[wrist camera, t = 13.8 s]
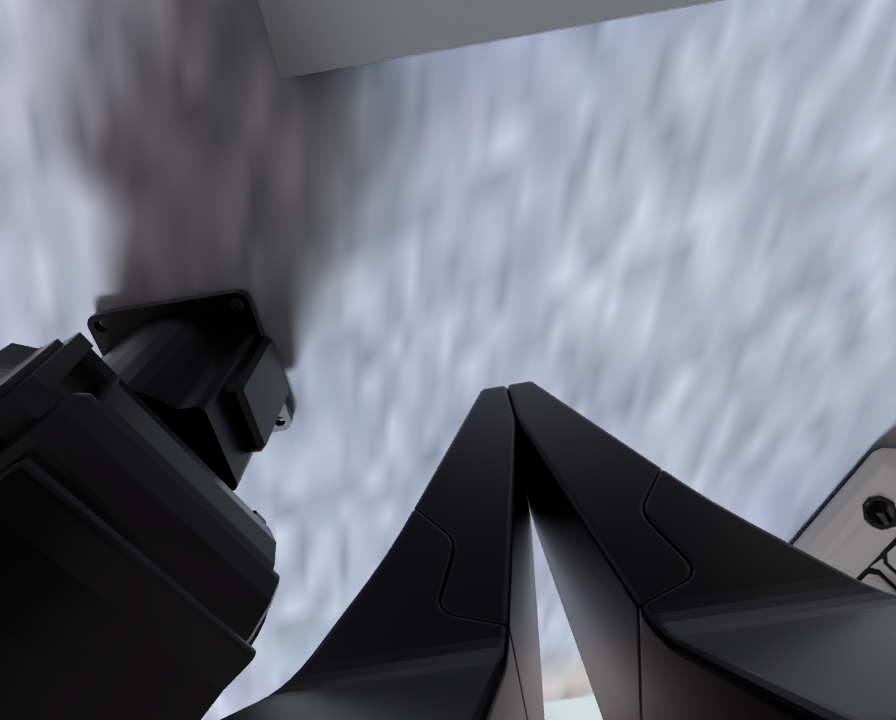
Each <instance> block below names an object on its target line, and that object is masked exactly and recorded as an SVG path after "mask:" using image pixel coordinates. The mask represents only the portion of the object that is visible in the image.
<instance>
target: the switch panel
mask: <svg viewBox="0 0 896 720" xmlns="http://www.w3.org/2000/svg"><path fill="white" fill-rule="evenodd" d="M717 1H722V0H258V2H259V6H260V9H261V13H262V17H263V20H264V24H265V28H266V32H267V35H268V39H269V43H270V46H271V50H272V54H273V58H274V61H275V65H276V69H277V72H278V76H279V79H282V78H291V77H298V76H303V75H309V74H315V73H320V72H326V71H331V70H337V69H343V68H348V67H354V66H359V65H365V64H371V63H376V62H382V61H387V60H393V59H398V58H404V57H410V56H415V55H421V54H426V53H432V52H438V51H443V50H449V49H454V48H460V47H465V46H471V45H477V44H482V43H488V42H493V41H499V40H505V39H510V38H516V37H521V36H527V35H533V34H538V33H544V32H549V31H555V30H560V29H566V28H572V27H577V26H583V25H588V24H594V23H600V22H605V21H611V20H616V19H622V18H627V17H633V16H639V15H644V14H650V13H655V12H661V11H667V10H672V9H678V8H683V7H689V6H695V5H700V4H706V3H711V2H717Z"/></svg>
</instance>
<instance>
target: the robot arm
mask: <svg viewBox="0 0 896 720" xmlns="http://www.w3.org/2000/svg"><path fill="white" fill-rule="evenodd" d="M234 299H239V300H241V301H242V302H243V304H244V307H238V306H237V305H235V303H234ZM99 321H103V322H105V323H106V325H107V327H108V328H105V327H103V326H102V325H101V324H100V322H99ZM87 325H88V328H89V330H90V332H91V334H92V336H93V338H94V340H95V342H96V344H97V346H98V348H99V350H100V352H101V354H102V355H103V356H102V357H101V358H100V357H99V356H98V355H97V354H96V353H95V352H94V351H93V350H92V349H91V348H92V347H93V345H92V344H91V343H90V342H89V341H88V340H87V339H86V338H85V337H84V336H83V335H82V334H81V333H80V332H79V333H77V334H76V335H74V336H72V337H71V338H69V339H68V340H66V341H64V342H63V343H62V342H61V341H60V340H59V339H56V340H54V341H53V342H51V343H49V344H47V345H46V346H44V347H40V348H39V349H38V348H33V347H28V346H24V345H19V344H14V343H11V344H10V345H8V346H6V347H5V348H3V349H2V350H0V720H201V719H202V717H203V716H204V715H205V713H206V712H207V711H208V710H209V708H210V707H211V706H212V704H213V703H214V702H215V700H216V699H217V698H218V697H219V695H220V694H221V693H222V691H223V690H224V689H225V688H226V687H227V686H228V685H229V684H230V683H231V682H232V681H233V680H234V679H235V678H236V677H237V676H238V675H239V674H240V673H241V672H242V671H243V670H244V669H245V668H246V666H247V665H248V664H249V663H250V662H251V661H252V660H253V658H254V657H255V654H256V650H255V649H254V648H253V647H252V646H251V645H252V644H253V642H254V641H255V639H256V637H257V636H258V634H259V632H260V630H261V628H262V626H263V624H264V621H265V619H266V615H267V612H268V610H269V608H270V606H271V604H272V601H273V598H274V596H275V593H276V591H277V588H278V584H279V575H278V574H277V573H276V572H275V571H274V570H273V568H274V564H275V551H276V541H275V539H274V537H273V535H272V533H271V531H270V529H269V527H268V526H267V525H266V521H265V519H264V518H263V517H262V516H261V515H260V514H259V513H258V512H257V511H255V510H254V511H252V510H251V509H250V508H249V507H248V506H247V505H246V504H245V503H244V502H243V501H242V500H241V499H240V498H239V497H238V496H237V495H236V494H235V493H234V492H233V490H235V489H236V488H237V486H238V484H239V482H240V480H241V478H242V476H243V473H244V471H245V469H246V467H247V465H248V462H249V460H250V458H251V456H252V454H253V452H260V451H262V450H263V448H264V447H265V446H266V444H267V442H268V439H269V437H270V435H271V433H272V432H277V431H283V430H286V429H288V428H289V427H290V425H291V422H292V420H293V414H292V411H291V408H290V405H289V402H288V400H287V396H288V393H289V386H288V383H287V380H286V378H285V375H284V372H283V369H282V366H281V363H280V360H279V357H278V354H277V351H276V348H275V345H274V343H273V340H272V339H270V338H269V337H268V336H265V334H264V331H263V328H262V325H261V322H260V319H259V316H258V314H257V311H256V308H255V305H254V302H253V299H252V297H251V296H250V294H249V293H247V292H246V291H244V290H241V289H234V290H228V291H221V292H215V293H209V294H203V295H196V296H190V297H184V298H178V299H171V300H165V301H159V302H153V303H146V304H140V305H134V306H128V307H121V308H115V309H109V310H103V311H99V312H96V313H95V314H94V315H92V316H91V317H90V318H89V319H88V323H87ZM507 390H508V391H507ZM278 416H279V417H282V418H284V419H285V420H284V421H280V420H278ZM528 503H529V504H528ZM529 508H530V511H529ZM530 512H531V516H532V519H533V522H534V525H535V528H536V531H537V534H538V537H539V540H540V542H541V545H542V548H543V551H544V554H545V557H546V559H547V562H548V565H549V568H550V571H551V573H552V576H553V579H554V582H555V585H556V588H557V590H558V593H559V596H560V599H561V602H562V605H563V607H564V610H565V613H566V616H567V619H568V622H569V624H570V627H571V630H572V633H573V636H574V639H575V641H576V644H577V647H578V650H579V653H580V656H581V658H582V661H583V664H584V667H585V670H586V673H587V675H588V678H589V681H590V684H591V687H592V689H593V692H594V695H595V698H596V701H597V704H598V706H599V709H600V712H601V715H602V718H603V720H896V595H895V594H892V593H888V592H885V591H883V590H880V589H878V588H875V587H873V586H870V585H868V584H865V583H863V582H861V581H859V580H857V579H855V578H853V577H851V576H849V575H847V574H845V573H843V572H841V571H840V570H838V569H836V568H834V567H832V566H830V565H828V564H826V563H825V562H823V561H821V560H819V559H817V558H815V557H813V556H812V555H810V554H808V553H806V552H804V551H802V550H800V549H798V548H797V547H795V546H793V545H791V544H789V543H787V542H785V541H783V540H782V539H780V538H778V537H776V536H774V535H772V534H770V533H768V532H767V531H765V530H763V529H761V528H759V527H757V526H755V525H754V524H752V523H750V522H748V521H746V520H744V519H743V518H741V517H739V516H737V515H736V514H734V513H732V512H730V511H728V510H727V509H725V508H723V507H721V506H720V505H718V504H716V503H714V502H712V501H711V500H709V499H708V498H706V497H705V496H703V495H701V494H700V493H698V492H697V491H695V490H693V489H692V488H690V487H689V486H687V485H686V484H684V483H682V482H681V481H679V480H678V479H676V478H675V477H673V476H672V475H670V474H669V473H667V472H666V471H664V470H663V471H661V469H660V467H658V466H657V465H655V464H654V463H652V462H651V461H649V460H648V459H646V458H645V457H643V456H642V455H640V454H639V453H637V452H636V451H634V450H633V449H631V448H630V447H628V446H627V445H625V444H624V443H622V442H621V441H619V440H618V439H617V438H615V437H614V436H612V435H611V434H609V433H608V432H606V431H605V430H603V429H602V428H600V427H599V426H597V425H596V424H594V423H593V422H591V421H590V420H588V419H587V418H585V417H584V416H582V415H581V414H579V413H578V412H576V411H575V410H573V409H572V408H570V407H569V406H567V405H566V404H564V403H563V402H561V401H560V400H558V399H557V398H556V397H554V396H553V395H551V394H550V393H548V392H547V391H545V390H544V389H542V388H541V387H539V386H538V385H536V384H535V383H533V382H523V383H517V384H512V385H510V386H508V388H506V387H504V386H500V387H494V388H488V389H484V390H482V391H481V392H480V394H479V396H478V398H477V399H476V401H475V403H474V405H473V406H472V408H471V410H470V412H469V414H468V415H467V417H466V419H465V421H464V422H463V424H462V426H461V428H460V429H459V431H458V433H457V435H456V436H455V438H454V440H453V442H452V443H451V445H450V447H449V449H448V451H447V452H446V454H445V456H444V458H443V459H442V461H441V463H440V465H439V466H438V468H437V470H436V472H435V473H434V475H433V477H432V479H431V480H430V482H429V484H428V486H427V487H426V489H425V491H424V493H423V495H422V496H421V498H420V500H419V502H418V503H417V505H416V507H415V510H414V511H413V512H412V513H411V515H410V517H409V519H408V520H407V522H406V524H405V526H404V527H403V529H402V531H401V532H400V534H399V536H398V537H397V539H396V540H395V542H394V544H393V545H392V547H391V549H390V550H389V552H388V553H387V555H386V556H385V558H384V559H383V560H382V562H381V563H380V565H379V566H378V567H377V569H376V570H375V572H374V573H373V574H372V576H371V577H370V579H369V580H368V581H367V583H366V584H365V585H364V587H363V588H362V589H361V591H360V592H359V593H358V595H357V596H356V597H355V599H354V600H353V601H352V603H351V604H350V605H349V607H348V608H347V609H346V611H345V612H344V613H343V615H342V616H341V617H340V619H339V620H338V621H337V623H336V624H335V625H334V627H333V628H332V629H331V631H330V632H329V633H328V634H327V636H326V637H325V638H324V640H323V641H322V642H321V644H320V645H319V646H318V648H317V649H316V650H315V652H314V653H313V654H312V656H311V657H310V658H309V659H308V660H307V662H306V663H305V664H304V665H303V667H302V668H301V669H300V670H299V671H298V672H297V673H296V674H295V675H294V676H293V677H292V678H291V679H290V680H289V681H288V682H286V683H285V684H284V685H283V686H282V687H281V688H279V689H278V690H276V691H275V692H274V693H272V694H271V695H269V696H268V697H266V698H264V699H262V700H260V701H258V702H256V703H254V704H252V705H250V706H248V707H246V708H244V709H242V710H240V711H238V712H235V713H233V714H231V715H229V716H227V717H225V718H223V719H221V720H544V708H543V707H544V706H543V692H542V677H541V662H540V647H539V632H538V618H537V603H536V588H535V573H534V558H533V544H532V529H531V519H530Z"/></svg>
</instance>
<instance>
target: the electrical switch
mask: <svg viewBox="0 0 896 720" xmlns="http://www.w3.org/2000/svg"><path fill="white" fill-rule="evenodd" d="M892 508H893V509H894V516H893V519H892V518H891V516H890V515H889V513H888V512H889V511H890V510H891V509H892ZM793 546H795V547H797V548H798V549H800V550H802V551H804V552H806V553H808V554H810V555H812V556H813V557H815V558H817V559H819V560H821V561H823V562H825V563H826V564H828V565H830V566H832V567H834V568H836V569H838V570H840V571H841V572H843V573H845V574H847V575H849V576H851V577H853V578H855V579H857V580H859V581H861V582H863V583H865V584H868V585H870V586H873V587H875V588H878V589H880V590H883V591H885V592H888V593H892V594H895V595H896V448H880V449H878V450H876V451H874V452H872V453H871V454H870V456H869V457H868V458H867V459H866V460H865V461H864V463H863V464H862V465H861V466H860V467H859V468H858V470H857V471H856V472H855V473H854V474H853V475H852V477H851V478H850V479H849V480H848V481H847V482H846V483H845V485H844V486H843V487H842V488H841V489H840V490H839V492H838V493H837V494H836V495H835V496H834V497H833V499H832V500H831V501H830V502H829V503H828V504H827V506H826V507H825V508H824V509H823V510H822V511H821V512H820V514H819V515H818V516H817V517H816V518H815V519H814V521H813V522H812V523H811V524H810V525H809V526H808V528H807V529H806V530H805V531H804V532H803V533H802V535H801V536H800V537H799V538H798V539H797V540H796V541H795V543H794V544H793Z"/></svg>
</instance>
